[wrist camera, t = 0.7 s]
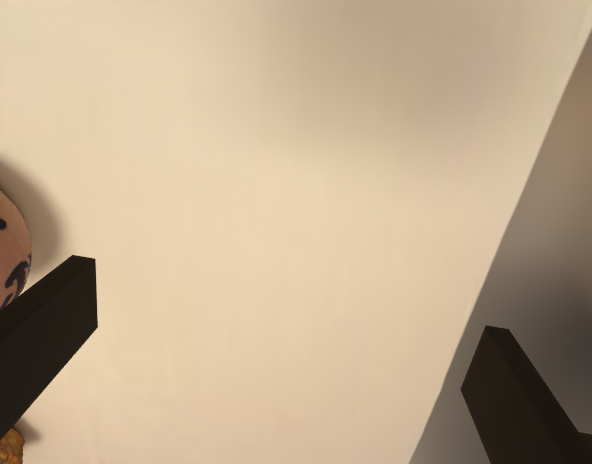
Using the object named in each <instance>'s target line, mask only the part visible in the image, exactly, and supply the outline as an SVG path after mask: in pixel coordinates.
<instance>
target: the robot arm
mask: <svg viewBox="0 0 592 464" xmlns="http://www.w3.org/2000/svg"><path fill="white" fill-rule="evenodd" d="M97 327H98V322H97V293H96V264H95V259H93V258H87V257H81V256H75V255H72V256H71V257H69V258H68V259H67V260H65V261H64V262H63V263H62V264H60V265H59V266H58V267H56V268H55V269H54V270H52V271H51V272H50V273H48V274H47V275H46V276H45V277H43V278H42V279H41V280H39V281H38V282H37V283H35V284H34V285H33V286H32V287H30V288H29V289H28V290H26V291H25V292H24V293H22V294H21V295H20V296H18V297H17V298H16V299H15V300H13V301H12V302H11V303H9V304H8V305H7V306H5V307H4V308H3V309H1V310H0V441H1V439H2V438H3V437H4V436H5V435H6V434H7V432H8V431H9V430H10V429H11V428H12V427H13V425H14V424H15V423H16V422H17V421H18V420H19V418H20V417H21V416H22V415H23V414H24V413H25V411H26V410H27V409H28V408H29V407H30V406H31V404H32V403H33V402H34V401H35V400H36V399H37V397H38V396H39V395H40V394H41V393H42V392H43V390H44V389H45V388H46V387H47V386H48V385H49V383H50V382H51V381H52V380H53V379H54V378H55V376H56V375H57V374H58V373H59V372H60V371H61V369H62V368H63V367H64V366H65V365H66V364H67V362H68V361H69V360H70V359H71V358H72V357H73V355H74V354H75V353H76V352H77V351H78V350H79V348H80V347H81V346H82V345H83V344H84V343H85V341H86V340H87V339H88V338H89V337H90V336H91V334H92V333H93V332H94V331H95V330H96V329H97ZM461 391H462V394H463V397H464V399H465V402H466V404H467V406H468V408H469V411H470V413H471V416H472V419H473V421H474V423H475V426H476V428H477V431H478V433H479V436H480V438H481V441H482V443H483V446H484V448H485V451H486V453H487V455H488V458H489V460H490V463H491V464H592V435H591V434H586V433H580V432H578V431H577V429H576V428H575V426H574V425H573V423H572V422H571V420H570V419H569V418H568V416H567V415H566V413H565V412H564V410H563V409H562V407H561V406H560V404H559V403H558V401H557V400H556V398H555V397H554V396H553V394H552V392H551V391H550V390H549V388H548V386H547V385H546V384H545V382H544V381H543V379H542V378H541V376H540V375H539V373H538V372H537V370H536V369H535V367H534V366H533V364H532V363H531V361H530V360H529V359H528V357H527V356H526V354H525V353H524V351H523V350H522V348H521V347H520V345H519V344H518V342H517V341H516V339H515V338H514V336H513V335H512V334H511V332H510V331H509V329H504V328H498V327H492V326H485V329H484V332H483V334H482V336H481V339H480V341H479V344H478V346H477V349H476V351H475V354H474V357H473V359H472V362H471V364H470V367H469V369H468V372H467V374H466V377H465V379H464V382H463V384H462V387H461Z"/></svg>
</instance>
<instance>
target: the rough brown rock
mask: <svg viewBox="0 0 592 464" xmlns="http://www.w3.org/2000/svg"><path fill="white" fill-rule="evenodd" d="M24 443H25V440H24V438H23V437H22V436H21V435H20V434H19V433H18V432H17V431H16V430H14V429H10V430H9V431H8V432H7V434H6V435H5V436H4V437H3V438H2V439H1V441H0V464H22V463H23V459H22V457H23V446H24Z"/></svg>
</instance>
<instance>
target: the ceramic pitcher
mask: <svg viewBox="0 0 592 464" xmlns="http://www.w3.org/2000/svg"><path fill="white" fill-rule="evenodd" d="M31 259H32V247H31V240H30V236H29V232H28V228H27V226H26V224H25V222H24V220H23V218H22V216H21V214H20V213H19V211H18V209H17V207H16V206H15V205H14V204H13V203H12V202H11V201H10V200H9V199H8V198H7V197H6V196H5V195H4V194H3V193H2V192H1V191H0V310H1V309H3V308H4V307H5V306H7V305H8V304H9V303H11V302H12V301H13V300H15V299H16V298H17V297H18V296H19V295H20V293H21V291H22V290H23V288H24V286H25V284H26V281H27V277H28V275H29V271H30V267H31Z"/></svg>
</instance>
